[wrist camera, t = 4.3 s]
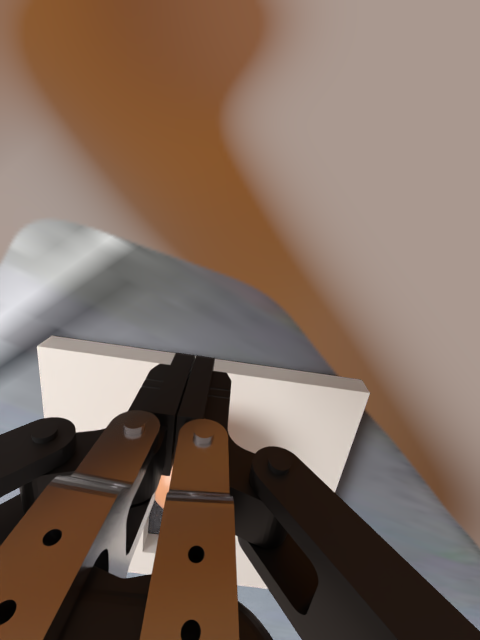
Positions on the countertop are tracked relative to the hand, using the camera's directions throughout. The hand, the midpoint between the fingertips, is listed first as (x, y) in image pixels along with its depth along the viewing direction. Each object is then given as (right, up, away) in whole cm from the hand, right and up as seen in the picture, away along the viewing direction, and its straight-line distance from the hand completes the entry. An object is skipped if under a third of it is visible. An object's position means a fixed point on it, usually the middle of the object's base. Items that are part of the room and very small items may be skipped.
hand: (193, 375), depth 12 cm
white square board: (-2, -10, +12) cm, 15 cm away
